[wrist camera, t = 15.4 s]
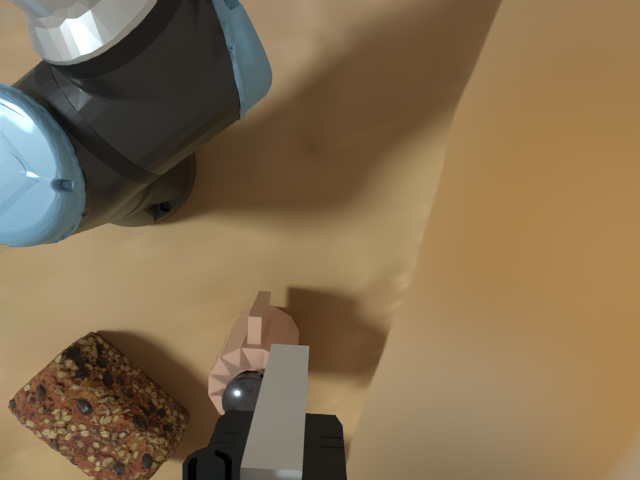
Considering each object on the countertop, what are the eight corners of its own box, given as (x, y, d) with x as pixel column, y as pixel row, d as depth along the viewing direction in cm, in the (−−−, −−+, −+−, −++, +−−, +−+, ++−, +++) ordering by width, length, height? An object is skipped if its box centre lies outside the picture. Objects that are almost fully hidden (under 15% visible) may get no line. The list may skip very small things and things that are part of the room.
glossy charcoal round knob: (242, 364, 53) (221, 422, 41) (243, 328, 52) (222, 378, 40) (281, 366, 53) (270, 425, 42) (283, 330, 52) (272, 381, 40)
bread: (46, 371, 57) (-11, 416, 47) (97, 322, 55) (49, 358, 45) (146, 457, 59) (111, 518, 50) (197, 413, 58) (172, 467, 48)
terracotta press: (231, 366, 56) (207, 422, 44) (233, 281, 54) (209, 317, 42) (297, 370, 56) (291, 427, 45) (302, 286, 54) (297, 323, 42)
